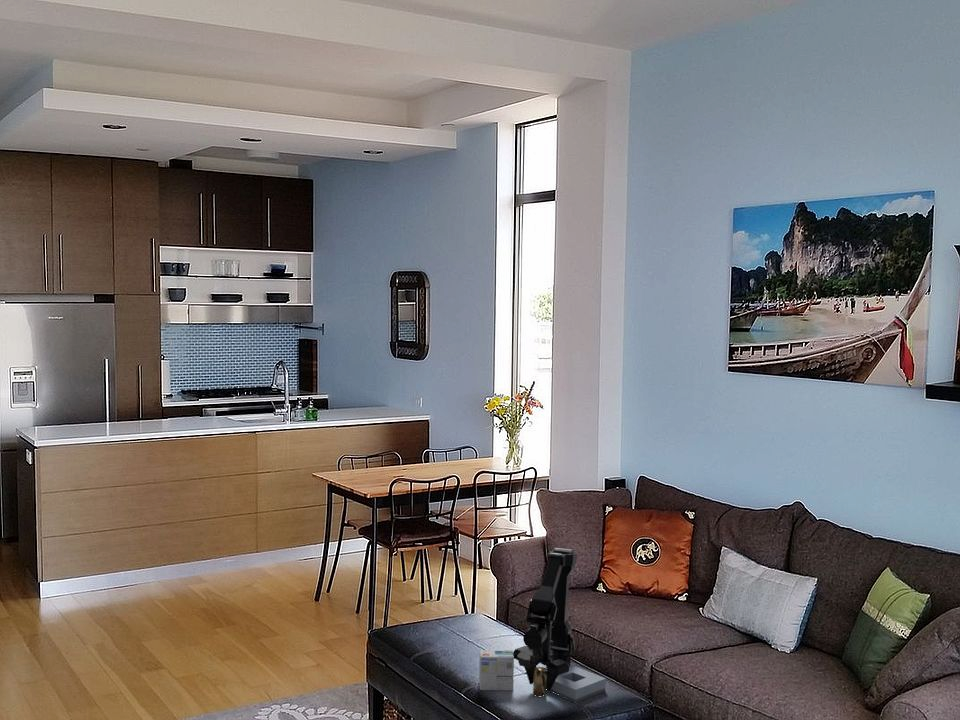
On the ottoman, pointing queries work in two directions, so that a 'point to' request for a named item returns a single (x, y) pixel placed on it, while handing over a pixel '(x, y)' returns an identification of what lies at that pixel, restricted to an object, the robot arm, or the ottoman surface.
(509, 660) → the light bulb box
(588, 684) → the bore block
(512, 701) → the ottoman surface
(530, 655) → the robot arm
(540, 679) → the peg
